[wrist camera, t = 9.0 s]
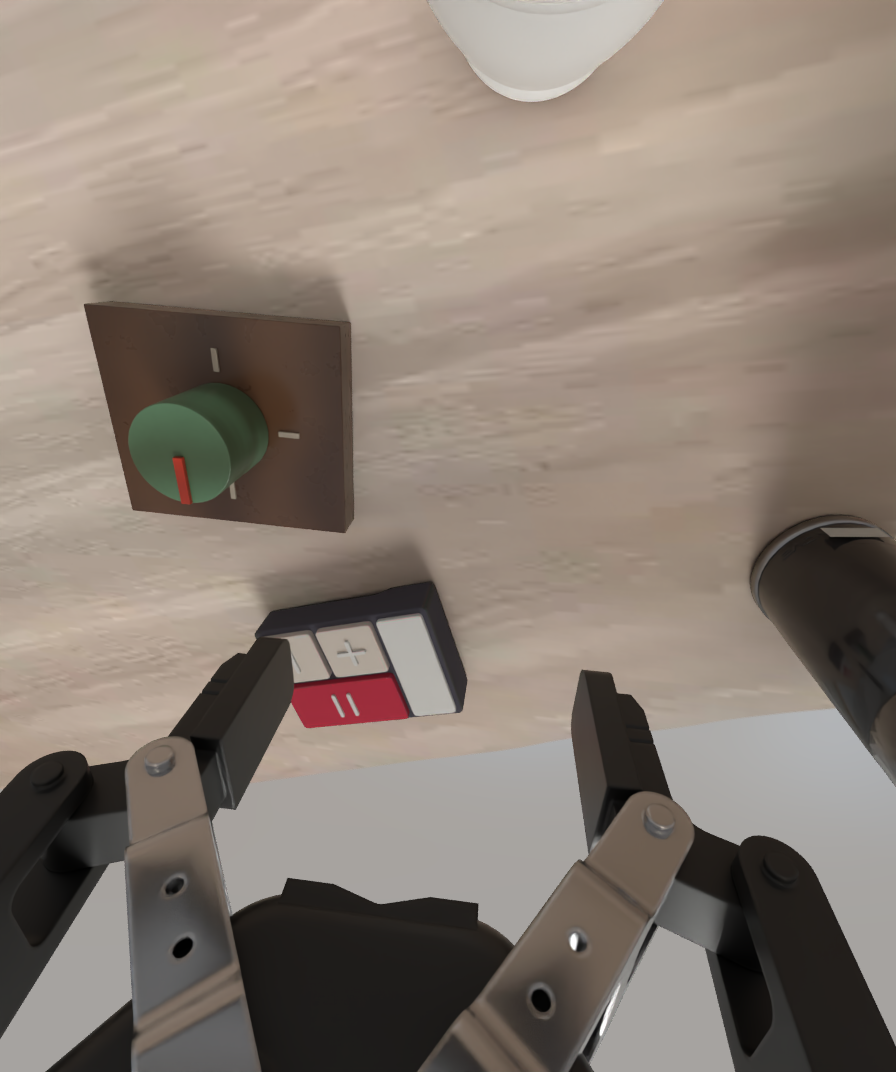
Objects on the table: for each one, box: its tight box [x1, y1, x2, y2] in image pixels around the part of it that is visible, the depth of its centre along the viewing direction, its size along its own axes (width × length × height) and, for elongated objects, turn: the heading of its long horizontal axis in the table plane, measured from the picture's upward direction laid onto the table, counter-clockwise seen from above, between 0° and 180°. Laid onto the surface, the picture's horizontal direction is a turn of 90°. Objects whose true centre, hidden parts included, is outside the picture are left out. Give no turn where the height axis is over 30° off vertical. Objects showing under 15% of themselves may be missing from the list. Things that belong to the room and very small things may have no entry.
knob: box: [128, 383, 269, 504], centre depth 32 cm, size 6×6×6 cm
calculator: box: [255, 582, 467, 728], centre depth 44 cm, size 11×4×15 cm
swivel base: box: [84, 301, 354, 533], centre depth 36 cm, size 16×14×3 cm
